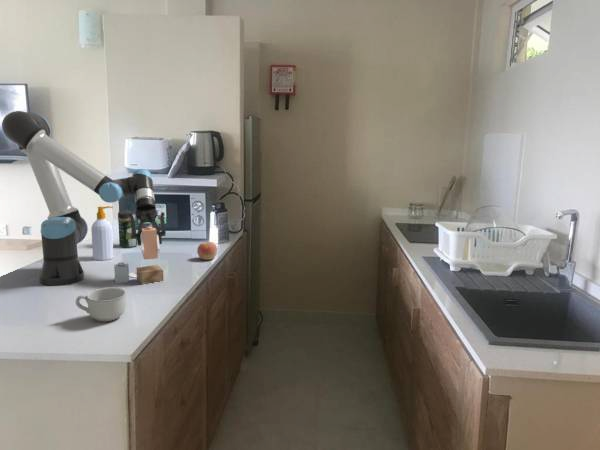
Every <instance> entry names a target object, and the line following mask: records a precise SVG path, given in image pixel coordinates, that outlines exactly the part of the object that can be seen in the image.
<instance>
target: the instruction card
mask: <svg viewBox="0 0 600 450" xmlns="http://www.w3.org/2000/svg"><path fill="white" fill-rule="evenodd" d="M129 278H137V271H134V272H129Z"/></svg>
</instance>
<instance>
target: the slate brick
mask: <svg viewBox="0 0 600 450" xmlns="http://www.w3.org/2000/svg"><path fill="white" fill-rule="evenodd" d="M113 268H114V283H115V284H120V283H121V284H122V283H129V282H130V276H129V273H130V271H129V270H130V269H129V263H125V262H123V261H122V262H118V263H117V264H116V263H115V264H114V267H113Z"/></svg>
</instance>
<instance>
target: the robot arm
mask: <svg viewBox="0 0 600 450" xmlns="http://www.w3.org/2000/svg"><path fill="white" fill-rule="evenodd" d="M1 128H2V132H3V134H4V136H6V138H7V139H8V140H10V141H11V142H13V143H14V144H16V145H17V146H18V149H19V150H20V152H21V153H23V154H25V155H26V157H27V159H28V162H29V164H30V166H31V169H32V171H33V173H34V177H35V180H36V182H37V184H38V186H39V189H40V192H41V194H42V196H43V199H44V202H45V204H46V207H47V209H48V212H49V214H48V215H47V219H45V220H44V221H42V222H41V224H40V234H41V246H42V259H43V262H42V267H41V271H40V272H39V282H40V284H42V285H46V286H62V285H70V284H75V283H76V282H80V281H82V280H83V279H84V278H85V271H84V269H83V267H82V264H81V262H80V261H79V256H78V244H80V243H81V242H83V240H84V239H85V238H86V236H87V235H88V231H89V228H88V223H87V221H86V220H85V218H84V217H82V216H81V213H80V211H79V208H77V207H76V206H73V203H72V202H71V199H70V196H69V194H68V190H67V189H66V186H65V184H64V183H65V182H64V181H63V179H62V178H63V177H62V175H61V173H60V170H61V171H62V172H64V173H66V174H67V175H68V176H70V178H71V177H72V178H73V179H75V180H76V181H78V182H79V183H80V184H82V185H84V186H85V187H86V188H88V189H89V190H91V191H93V192H94V193H96V194H97V195H98V196H99V197H100V199H101V200H102V201H104V202H105V203H110V204H112V203H116V202H118V201H119V200H121V199H122V198H125V197H130V196H134V202H135V212H134V213H135V214H129V220H130V222H131V232H132V238H137V246H140V247H141V248H140V249H141V250H140V251H141V254H142V255H143V254H144V245H143V236H142V228H143V227H144V224H145V223H150V224H151V226H152V228H156V230H157V251H158V253H160V251H161V247H160V245H161V244H162V243H163V238H162V237H163V236H164V237H166V226H165V225H166V224H165V220H164V219H165V212H164V211H163V212H161V213H160V212H158V210H157V207H156V199H155V193H154V192H155V190H154V182H153V178H152V173H151V171H150V170H148V169H146V168H138V169H136V170H134V171H133V173H132V176H128V177H124V178H117V179H112V178H110V177H108V176H107V175H106V174H105V173H103V172H102V171H100V170H99V169H97V168H96V167H95V166H93V165H92V164H91V163H88V162H86V160H84V159H83V158H81V157H80V156H78V155H77V154H75V153H73V152H72V151H70V150H69V149H67V148H66V147H65V146H63V145H62V144H61V143H59V142H58V141H56V140H55V139H53V138H52V137H51V132H52V131H51V127H50V123H49V122H48V121H47V119H45V117H43V116H41V115H40V114H37V113H35V112H30V111H29V112H26V111H24V110H23V111H21V110H14V111H12V112H8V114H6V115H5V116H4V117H3V120H2V121H1ZM59 169H60V170H59ZM135 217H136V219H138V220H139V224H138V229H137V231H136V233H135V224H134V220H135ZM157 217H158V219H159V222H160V227H159V226H158V223H157V221H156V219H157Z"/></svg>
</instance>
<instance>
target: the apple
mask: <svg viewBox="0 0 600 450" xmlns="http://www.w3.org/2000/svg"><path fill="white" fill-rule="evenodd" d="M196 249H197V252H196V253H197V254H198V257H199V258H200V259H201V260H203V261H211V260H213V259H215V258H216V257H217V253H218V247H217V244H215V242H211V241H209V242H207V241H205V242H202V243H200V244H199V245H198V247H197V248H196Z"/></svg>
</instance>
